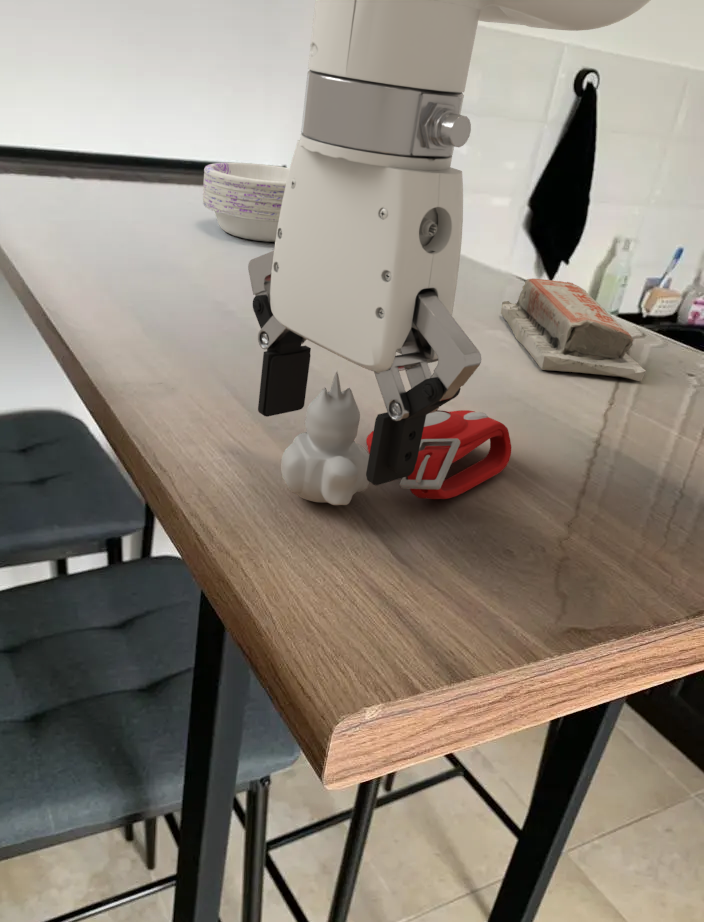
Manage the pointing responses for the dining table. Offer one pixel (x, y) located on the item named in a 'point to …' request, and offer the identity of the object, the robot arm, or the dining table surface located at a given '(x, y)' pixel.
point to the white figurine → (327, 450)
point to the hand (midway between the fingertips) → (331, 442)
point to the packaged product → (570, 331)
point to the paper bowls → (245, 198)
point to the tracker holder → (455, 453)
